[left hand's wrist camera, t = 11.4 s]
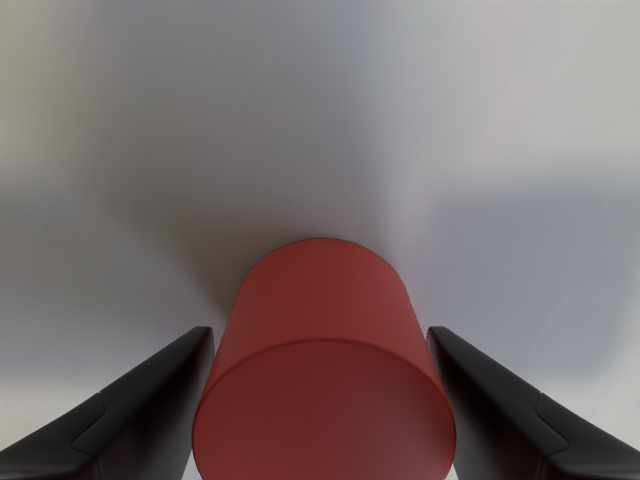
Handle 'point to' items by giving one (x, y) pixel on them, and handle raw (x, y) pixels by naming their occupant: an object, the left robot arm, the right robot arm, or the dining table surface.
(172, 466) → the left robot arm
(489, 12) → the dining table surface
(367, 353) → the can
